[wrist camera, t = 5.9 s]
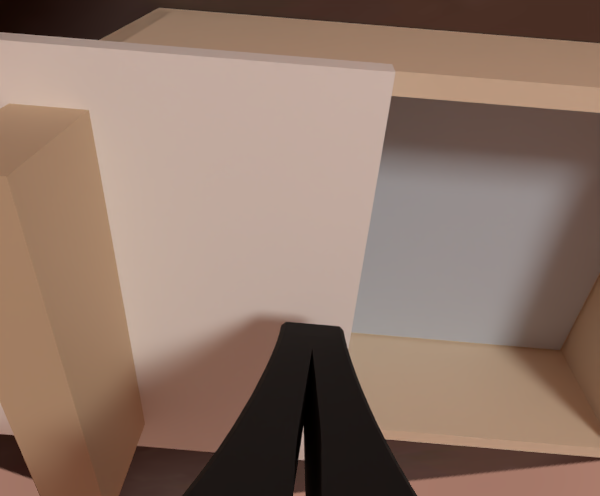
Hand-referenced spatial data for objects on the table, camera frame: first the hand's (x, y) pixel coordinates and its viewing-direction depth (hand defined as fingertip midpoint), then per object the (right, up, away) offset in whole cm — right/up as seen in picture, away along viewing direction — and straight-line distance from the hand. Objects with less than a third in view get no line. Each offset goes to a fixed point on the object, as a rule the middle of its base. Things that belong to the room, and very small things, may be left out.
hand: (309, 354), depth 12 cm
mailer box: (+3, +4, +6) cm, 8 cm away
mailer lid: (-7, +2, +2) cm, 7 cm away
